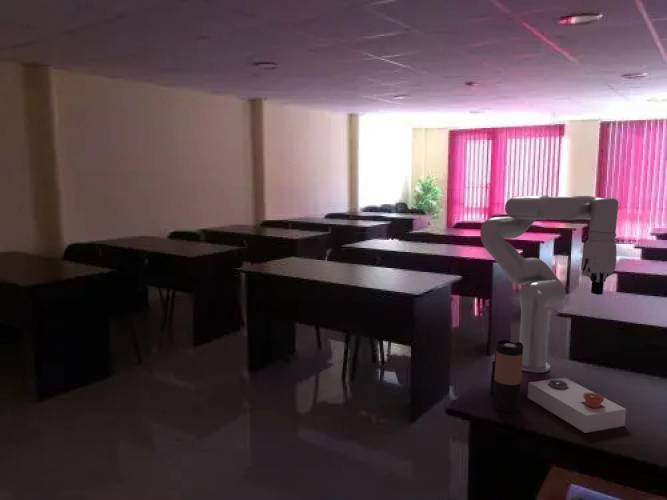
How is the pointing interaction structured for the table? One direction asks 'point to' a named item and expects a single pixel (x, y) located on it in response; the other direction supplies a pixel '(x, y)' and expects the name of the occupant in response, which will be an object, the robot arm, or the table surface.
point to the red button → (593, 400)
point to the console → (576, 406)
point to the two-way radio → (493, 375)
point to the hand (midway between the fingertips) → (596, 293)
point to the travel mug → (508, 375)
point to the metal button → (558, 384)
